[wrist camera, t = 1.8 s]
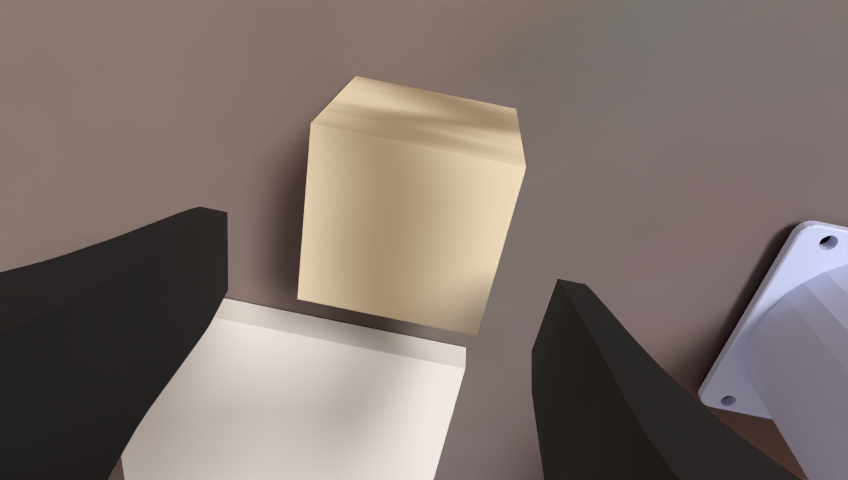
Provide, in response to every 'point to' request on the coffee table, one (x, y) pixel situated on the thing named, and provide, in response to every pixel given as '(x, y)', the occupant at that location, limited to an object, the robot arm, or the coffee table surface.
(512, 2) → the coffee table surface
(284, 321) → the ceramic tile
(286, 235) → the coffee table surface
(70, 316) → the robot arm
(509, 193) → the maple cube
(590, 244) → the coffee table surface
